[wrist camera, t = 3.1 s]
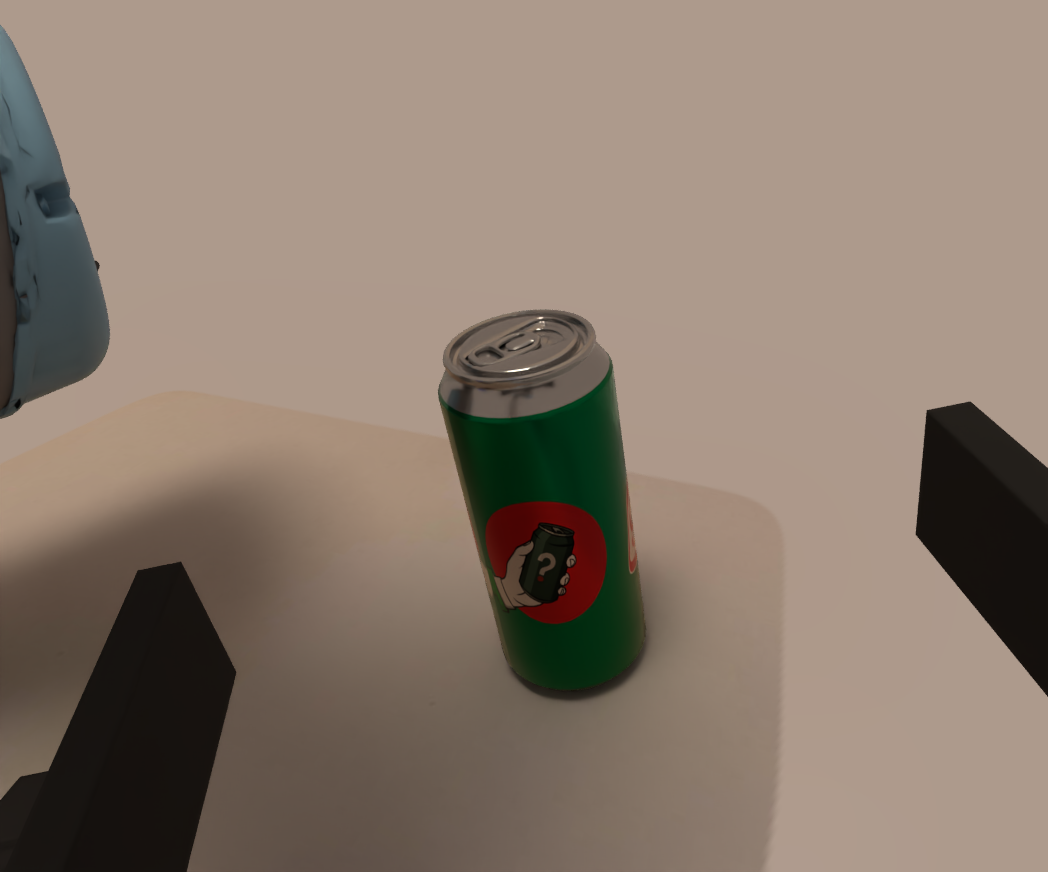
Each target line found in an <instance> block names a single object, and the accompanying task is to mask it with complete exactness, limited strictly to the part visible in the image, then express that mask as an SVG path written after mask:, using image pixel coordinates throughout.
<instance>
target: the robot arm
mask: <svg viewBox="0 0 1048 872" xmlns="http://www.w3.org/2000/svg"><path fill="white" fill-rule="evenodd" d="M69 195H70V188H69V185H68V182H67V179H66V177H65V174H64V171H63V167H62V163H61V159H60V155H59V152H58V149H57V146H56V144H55V141H54V138H53V135H52V133H51V130H50V128H49V125H48V123H47V120H46V117H45V115H44V112H43V109H42V107H41V104H40V102H39V99H38V97H37V94H36V92H35V90H34V87H33V85H32V82H31V80H30V78H29V75H28V73H27V71H26V69H25V66H24V64H23V62H22V60H21V58H20V56H19V54H18V52H17V50H16V48H15V46H14V44H13V42H12V40H11V39H10V37H9V36H8V34H7V33H6V31H5V30H4V29H3V27H2V26H1V25H0V419H2V418H5V417H8V416H11V415H13V414H14V413H15V412H16V411H18V410H19V409H20V408H21V406H22V405H23V404H25V403H27V402H29V401H32V400H34V399H37V398H39V397H42V396H44V395H46V394H49V393H51V392H54V391H56V390H59V389H61V388H63V387H66V386H68V385H71V384H73V383H76V382H78V381H80V380H82V379H84V378H86V377H87V376H89V375H90V374H92V373H93V372H94V371H95V370H96V369H97V367H98V366H99V365H100V363H101V362H102V360H103V358H104V357H105V354H106V352H107V349H108V345H109V339H110V338H109V337H110V329H109V320H108V313H107V308H106V303H105V300H104V295H103V291H102V287H101V283H100V279H99V276H98V269H99V266H100V265H99V263H98V262H97V261H94V258H93V255H92V251H91V248H90V245H89V242H88V238H87V235H86V232H85V230H84V227H83V223H82V220H81V217H80V215H79V212H78V210H77V208H76V206H75V203H74V202H73V201H72V199H71V198H70V197H69ZM916 535H917V536H918V538H919V539H920V540H921V542H922V543H923V544H924V545H925V547H926V548H927V549H928V550H929V551H930V553H931V554H932V555H933V556H934V558H935V559H936V560H937V561H938V563H939V564H940V565H941V566H942V567H943V569H944V570H945V571H946V572H947V574H948V575H949V576H950V577H951V578H952V580H953V581H954V582H955V583H956V585H957V586H958V587H959V588H960V590H961V591H962V592H963V593H964V594H965V596H966V597H967V598H968V599H969V601H970V602H971V603H972V604H973V605H974V606H975V608H976V609H977V610H978V612H979V613H980V614H981V615H982V616H983V618H984V619H985V620H986V621H987V623H988V624H989V625H990V626H991V627H992V629H993V630H994V631H995V632H996V634H997V635H998V636H999V637H1000V639H1001V640H1002V641H1003V642H1004V643H1005V645H1006V646H1007V647H1008V648H1009V649H1010V651H1011V652H1012V653H1013V654H1014V656H1015V657H1016V658H1017V659H1018V661H1019V662H1020V663H1021V664H1022V665H1023V667H1024V668H1025V669H1026V670H1027V672H1028V673H1029V674H1030V675H1031V676H1032V678H1033V679H1034V680H1035V681H1036V683H1037V684H1038V685H1039V686H1040V688H1041V689H1042V690H1043V691H1044V692H1045V694H1046V695H1047V696H1048V468H1047V467H1046V466H1045V465H1044V464H1042V463H1041V462H1040V461H1039V460H1038V459H1037V458H1035V457H1034V456H1033V455H1032V454H1030V453H1029V452H1028V451H1027V450H1026V449H1025V448H1024V447H1022V446H1021V445H1020V444H1019V443H1018V442H1017V441H1015V440H1014V439H1013V438H1012V437H1011V436H1010V435H1009V434H1007V433H1006V432H1005V431H1004V430H1003V429H1002V428H1000V427H999V426H998V425H997V424H996V423H995V422H994V421H992V420H991V419H990V418H989V417H988V416H987V415H985V414H984V413H983V412H982V411H981V410H979V409H978V408H977V407H976V406H975V405H974V404H973V403H971V402H966V403H961V404H956V405H951V406H946V407H941V408H936V409H931V410H927V413H926V424H925V436H924V448H923V458H922V469H921V481H920V492H919V503H918V515H917V526H916ZM235 676H236V670H235V668H234V666H233V664H232V662H231V660H230V658H229V656H228V654H227V652H226V650H225V648H224V646H223V644H222V642H221V640H220V638H219V636H218V634H217V632H216V630H215V628H214V626H213V624H212V622H211V620H210V618H209V616H208V614H207V612H206V610H205V608H204V606H203V604H202V602H201V600H200V598H199V596H198V594H197V592H196V590H195V588H194V586H193V584H192V582H191V580H190V578H189V576H188V574H187V572H186V570H185V568H184V566H183V564H182V562H177V563H172V564H167V565H162V566H157V567H152V568H147V569H142V570H138V571H137V573H136V575H135V578H134V580H133V582H132V584H131V587H130V589H129V591H128V593H127V596H126V598H125V600H124V602H123V605H122V607H121V609H120V611H119V614H118V616H117V618H116V620H115V623H114V625H113V627H112V629H111V632H110V634H109V636H108V638H107V641H106V643H105V645H104V647H103V649H102V652H101V654H100V656H99V658H98V661H97V663H96V665H95V667H94V670H93V672H92V674H91V676H90V679H89V681H88V683H87V685H86V688H85V690H84V692H83V694H82V697H81V699H80V701H79V703H78V706H77V708H76V710H75V712H74V715H73V717H72V719H71V721H70V724H69V726H68V728H67V730H66V733H65V735H64V737H63V739H62V742H61V744H60V746H59V748H58V751H57V753H56V755H55V757H54V760H53V762H52V764H51V766H50V769H49V771H46V772H41V773H36V774H31V775H26V776H21V777H20V778H19V779H18V780H17V781H16V782H15V784H14V785H13V786H12V787H11V788H10V789H9V791H8V792H7V793H6V794H5V795H4V797H3V798H2V799H1V800H0V872H187V868H188V864H189V860H190V856H191V852H192V848H193V844H194V840H195V836H196V832H197V828H198V824H199V820H200V816H201V812H202V808H203V804H204V800H205V796H206V792H207V788H208V784H209V780H210V776H211V772H212V768H213V764H214V760H215V756H216V752H217V748H218V744H219V740H220V736H221V732H222V728H223V724H224V720H225V716H226V712H227V708H228V704H229V700H230V696H231V692H232V688H233V684H234V680H235Z"/></svg>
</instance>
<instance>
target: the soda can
mask: <svg viewBox="0 0 1048 872" xmlns="http://www.w3.org/2000/svg"><path fill="white" fill-rule="evenodd" d="M443 363H444V367H445V369H446V370H445V372H444V375H443V377H442V380H441V382H440V384H439V389H438V395H439V402H440V405H441V409H442V413H443V417H444V421H445V425H446V429H447V433H448V437H449V441H450V445H451V449H452V453H453V457H454V460H455V464H456V468H457V472H458V476H459V480H460V484H461V488H462V492H463V496H464V500H465V504H466V507H467V511H468V515H469V519H470V523H471V527H472V531H473V535H474V539H475V543H476V547H477V551H478V555H479V558H480V562H481V566H482V570H483V574H484V578H485V582H486V586H487V590H488V594H489V598H490V602H491V605H492V609H493V613H494V617H495V621H496V625H497V629H498V633H499V637H500V641H501V645H502V649H503V653H504V655H505V657H506V660H507V662H508V663H509V665H510V666H511V667H512V669H513V670H514V671H515V672H516V673H517V674H518V675H520V676H521V677H523V678H524V679H526V680H527V681H530V682H532V683H534V684H536V685H539V686H542V687H545V688H549V689H553V690H560V691H577V690H585V689H589V688H593V687H596V686H598V685H601V684H603V683H605V682H607V681H609V680H611V679H613V678H614V677H616V676H617V675H619V674H620V673H621V672H623V671H624V670H625V669H626V668H627V667H628V666H629V665H630V664H631V663H632V662H633V661H634V660H635V658H636V657H637V656H638V654H639V652H640V650H641V648H642V646H643V643H644V640H645V635H646V625H645V617H644V609H643V601H642V593H641V585H640V577H639V569H638V561H637V553H636V545H635V538H634V530H633V522H632V514H631V506H630V498H629V490H628V482H627V474H626V467H625V459H624V451H623V443H622V435H621V427H620V419H619V411H618V403H617V395H616V388H615V379H614V371H613V364H612V360H611V358H610V356H609V354H608V353H607V352H606V351H605V350H604V349H603V348H602V347H601V346H600V345H599V344H598V343H597V342H596V335H595V331H594V329H593V327H592V325H591V324H590V323H589V322H588V321H587V320H586V319H584V318H583V317H581V316H579V315H576V314H573V313H569V312H565V311H558V310H528V311H519V312H513V313H509V314H504V315H500V316H497V317H494V318H490V319H487V320H485V321H482V322H480V323H478V324H475V325H473V326H471V327H469V328H468V329H466V330H464V331H463V332H461V333H460V334H458V335H457V336H456V337H455V338H454V339H452V340H451V342H450V343H449V344H448V345H447V347H446V349H445V351H444V355H443Z"/></svg>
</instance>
